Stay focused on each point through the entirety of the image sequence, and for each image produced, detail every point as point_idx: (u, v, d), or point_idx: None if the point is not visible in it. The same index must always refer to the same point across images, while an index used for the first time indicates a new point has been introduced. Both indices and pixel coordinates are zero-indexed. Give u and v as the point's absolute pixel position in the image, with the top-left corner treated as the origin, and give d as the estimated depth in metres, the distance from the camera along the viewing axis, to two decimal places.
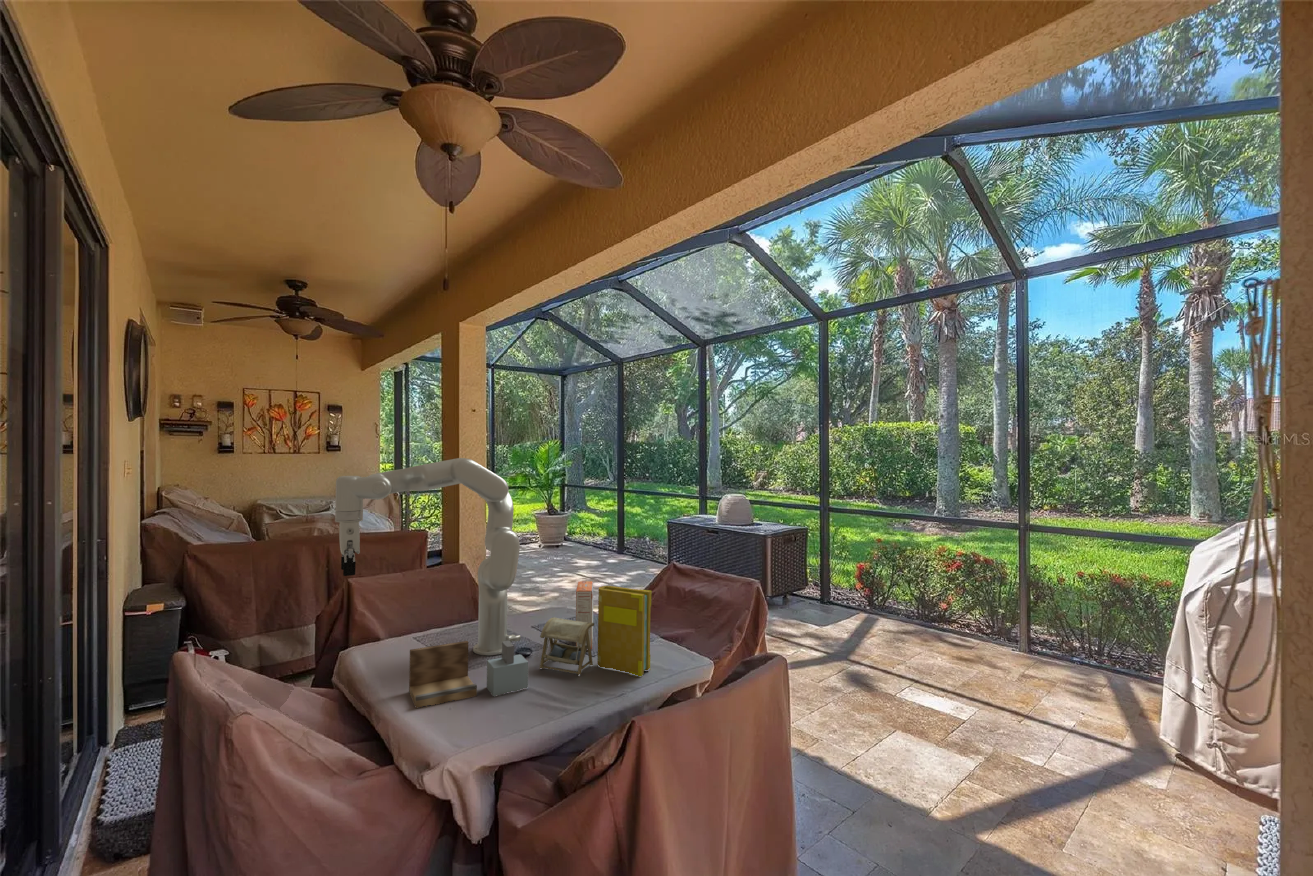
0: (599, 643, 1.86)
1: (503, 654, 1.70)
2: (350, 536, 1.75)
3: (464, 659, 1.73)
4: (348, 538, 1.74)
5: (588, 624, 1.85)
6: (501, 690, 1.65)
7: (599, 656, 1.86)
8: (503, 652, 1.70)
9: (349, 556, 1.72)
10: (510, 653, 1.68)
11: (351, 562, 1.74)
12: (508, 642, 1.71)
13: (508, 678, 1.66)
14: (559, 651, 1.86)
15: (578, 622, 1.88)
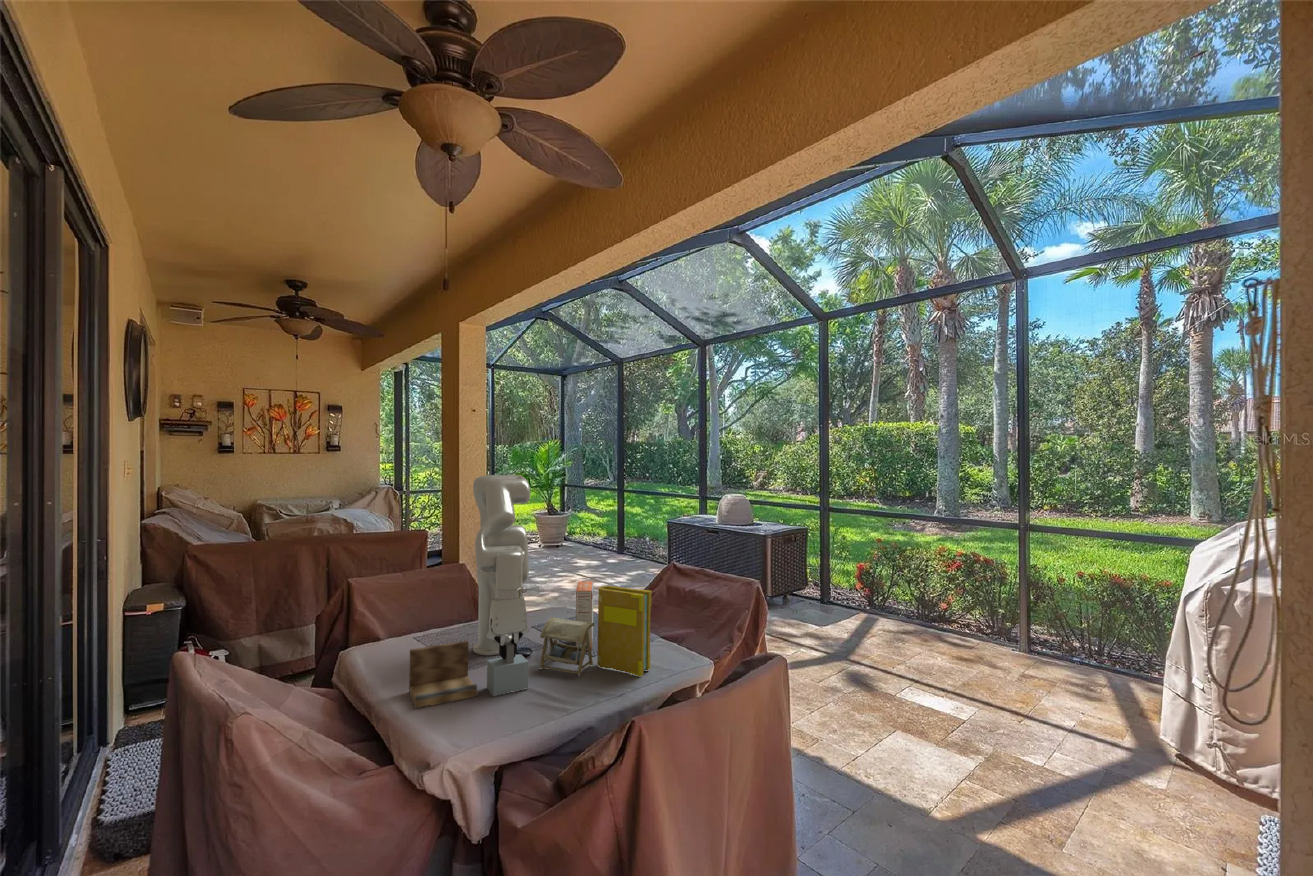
0: (599, 643, 1.86)
1: None
2: None
3: (464, 659, 1.73)
4: None
5: (588, 624, 1.85)
6: (501, 690, 1.65)
7: (599, 656, 1.86)
8: None
9: None
10: (510, 653, 1.68)
11: None
12: (508, 642, 1.71)
13: (508, 678, 1.66)
14: (559, 651, 1.86)
15: (578, 622, 1.88)
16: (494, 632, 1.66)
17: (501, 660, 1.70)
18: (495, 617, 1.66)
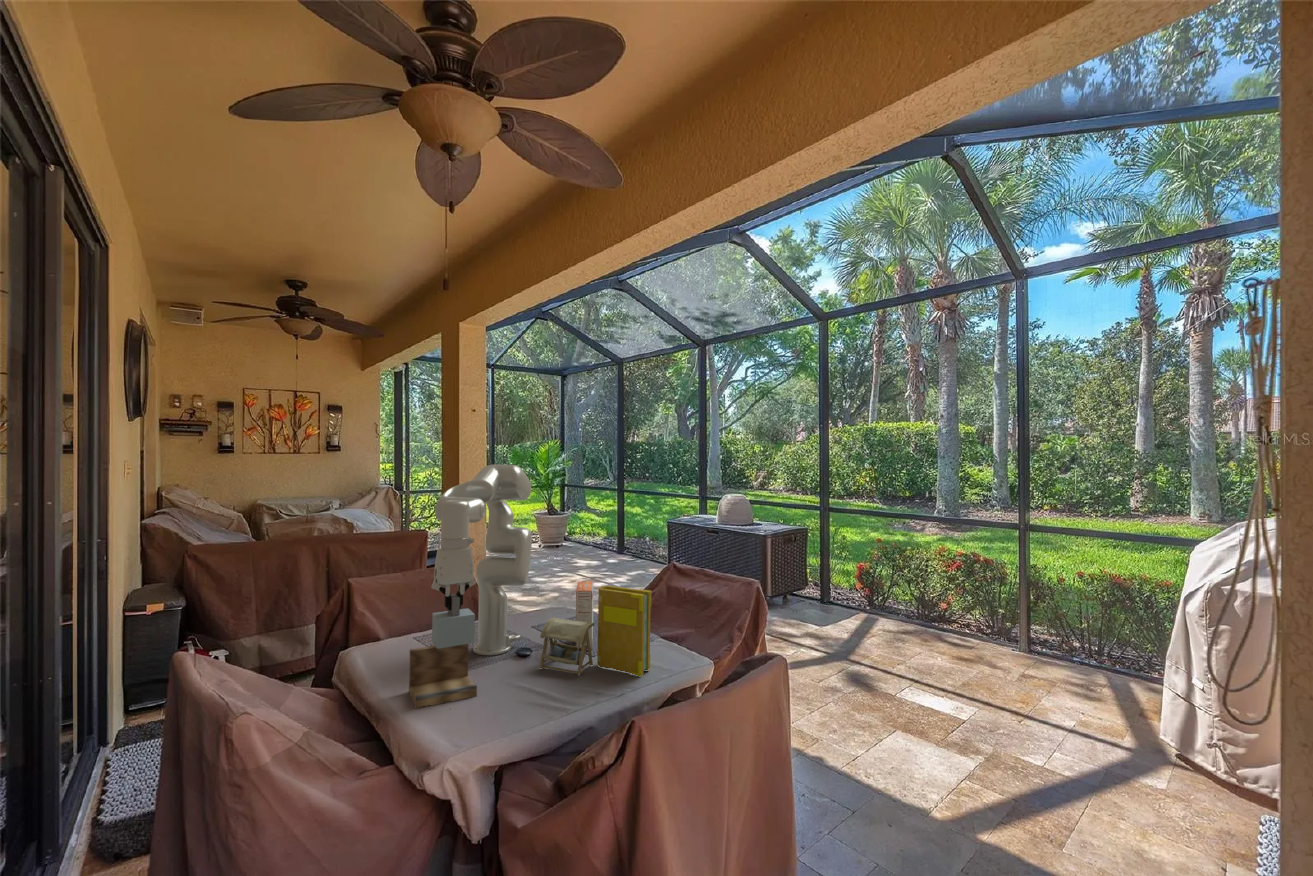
0: (599, 643, 1.86)
1: None
2: None
3: (464, 659, 1.73)
4: None
5: (588, 624, 1.85)
6: (446, 643, 1.61)
7: (599, 656, 1.86)
8: None
9: None
10: (456, 605, 1.64)
11: None
12: (454, 595, 1.67)
13: (453, 630, 1.62)
14: (559, 651, 1.86)
15: (578, 622, 1.88)
16: (438, 582, 1.62)
17: (447, 613, 1.66)
18: (440, 567, 1.62)
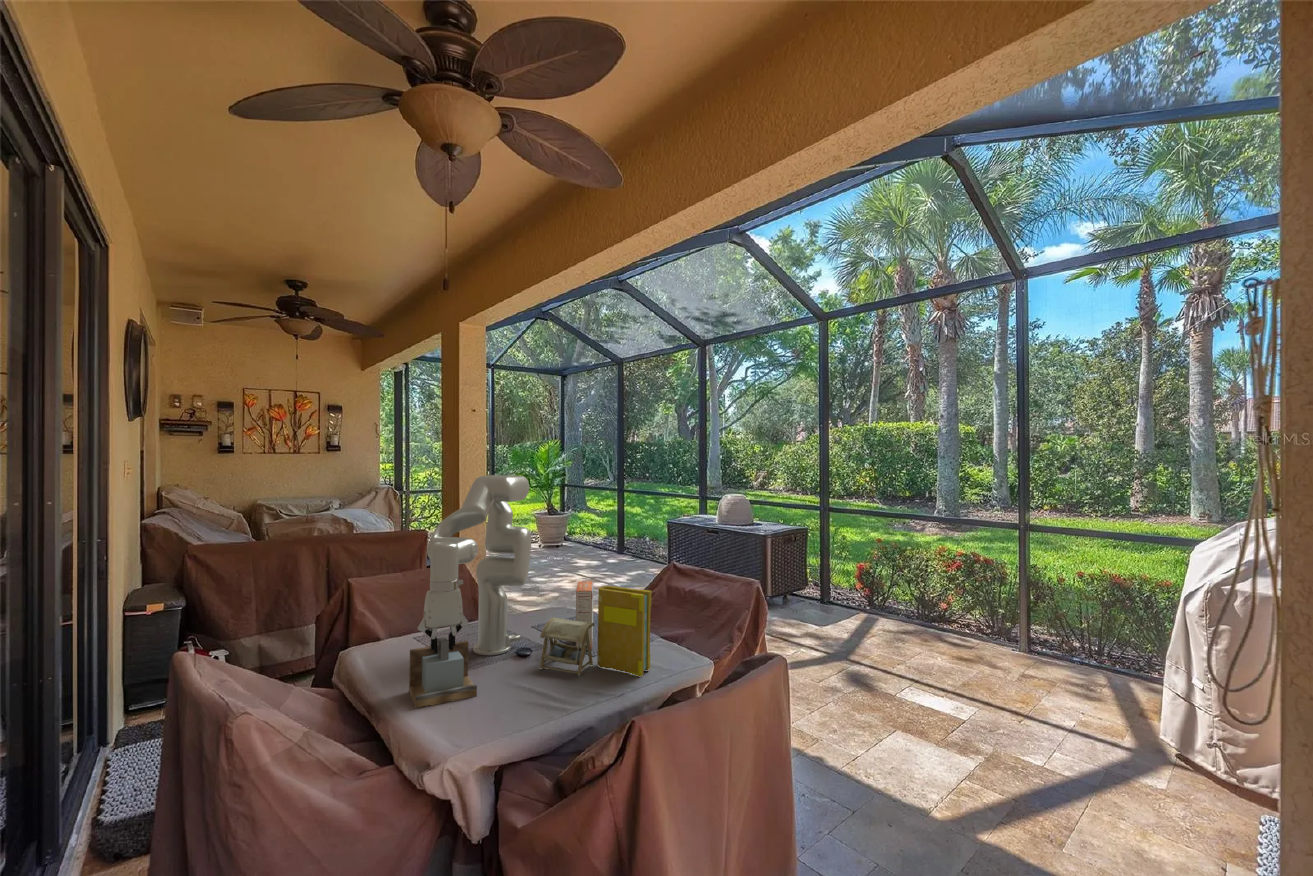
0: (599, 643, 1.86)
1: (438, 650, 1.67)
2: None
3: (464, 659, 1.73)
4: None
5: (588, 624, 1.85)
6: (434, 687, 1.62)
7: (599, 656, 1.86)
8: (438, 648, 1.67)
9: None
10: (445, 649, 1.64)
11: None
12: (444, 638, 1.67)
13: (442, 675, 1.63)
14: (559, 651, 1.86)
15: (578, 622, 1.88)
16: (427, 625, 1.62)
17: (436, 657, 1.66)
18: (428, 610, 1.62)
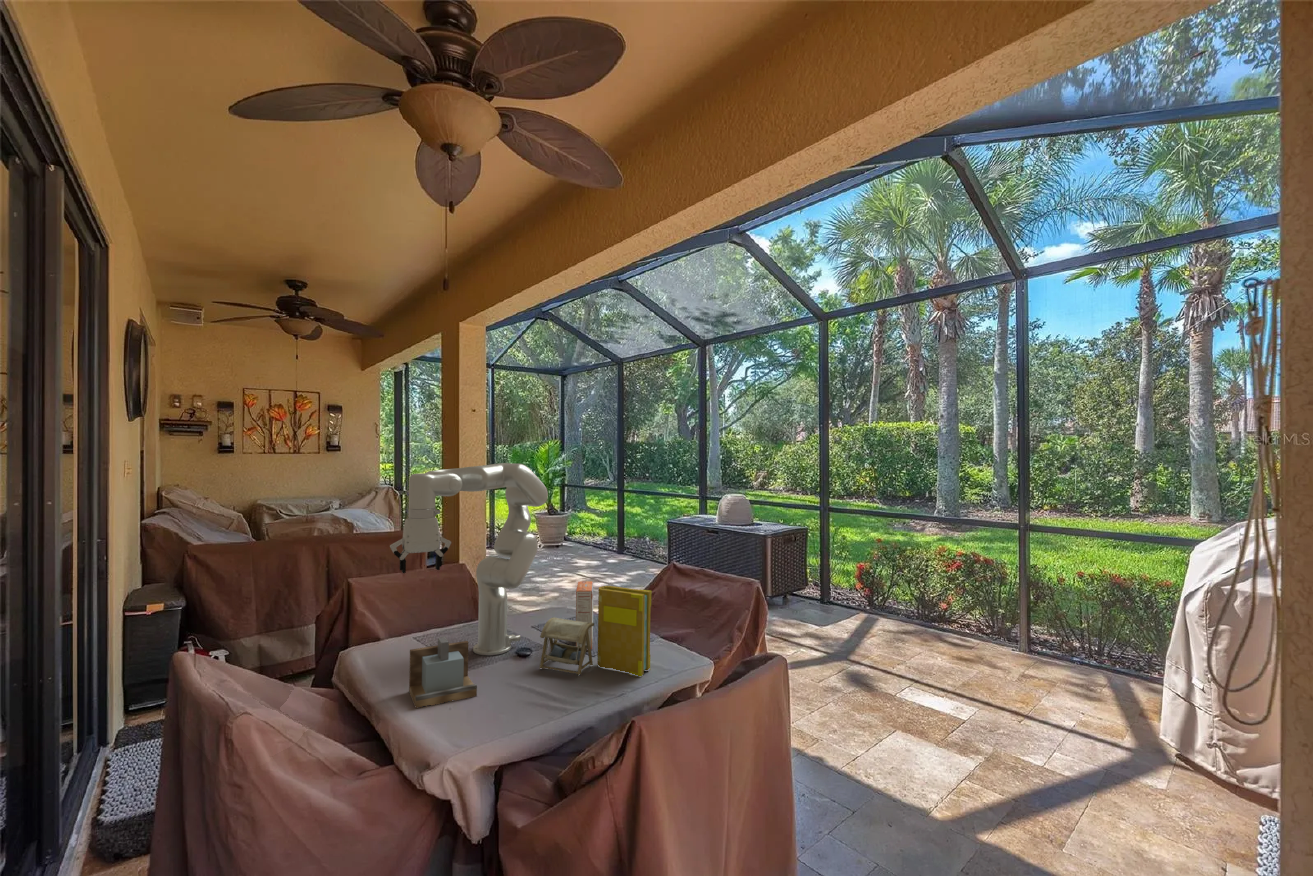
0: (599, 643, 1.86)
1: (438, 650, 1.67)
2: None
3: (464, 659, 1.73)
4: None
5: (588, 624, 1.85)
6: (434, 687, 1.62)
7: (599, 656, 1.86)
8: (438, 648, 1.67)
9: None
10: (445, 649, 1.64)
11: None
12: (444, 638, 1.67)
13: (442, 675, 1.63)
14: (559, 651, 1.86)
15: (578, 622, 1.88)
16: (405, 549, 1.73)
17: (436, 657, 1.66)
18: (407, 535, 1.73)
